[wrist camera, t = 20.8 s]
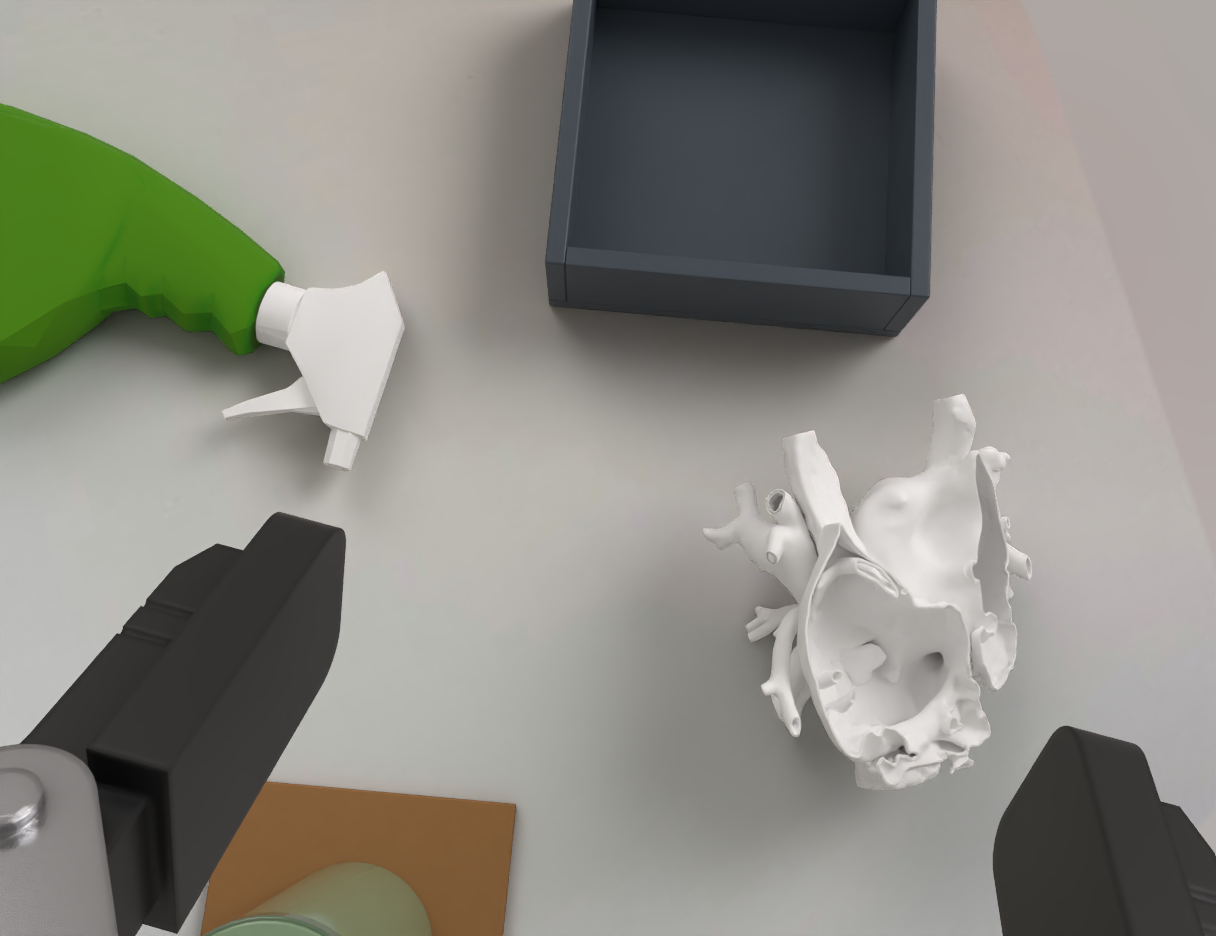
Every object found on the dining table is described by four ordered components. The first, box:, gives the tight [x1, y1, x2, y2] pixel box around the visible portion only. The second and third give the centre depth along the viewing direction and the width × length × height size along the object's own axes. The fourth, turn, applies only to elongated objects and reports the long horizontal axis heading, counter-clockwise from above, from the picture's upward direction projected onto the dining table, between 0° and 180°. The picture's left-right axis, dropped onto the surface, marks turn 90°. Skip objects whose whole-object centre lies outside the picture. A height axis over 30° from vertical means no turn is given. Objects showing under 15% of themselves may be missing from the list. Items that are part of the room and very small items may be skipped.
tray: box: [545, 0, 937, 337], centre depth 40 cm, size 13×13×4 cm
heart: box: [703, 394, 1032, 790], centre depth 36 cm, size 12×7×12 cm
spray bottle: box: [0, 104, 405, 471], centre depth 39 cm, size 3×11×25 cm
